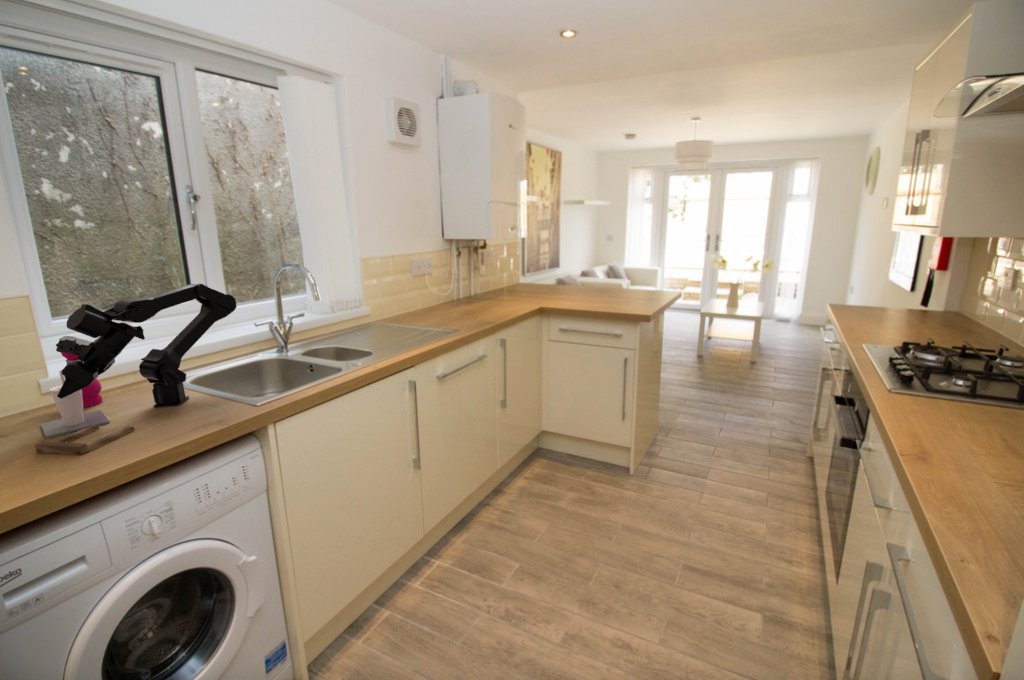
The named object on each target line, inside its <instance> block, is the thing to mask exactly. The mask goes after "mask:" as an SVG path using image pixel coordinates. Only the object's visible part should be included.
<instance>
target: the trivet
mask: <svg viewBox="0 0 1024 680" xmlns="http://www.w3.org/2000/svg"><path fill="white" fill-rule="evenodd" d="M107 424H110V419H108V418H107V415H105V414H104V413H103V411H102V410H101V409H98V410H95V411H90V412H84V422H82V423H80V424H77V425H71V426H66V425H65V423H64V421H63V419H62V418H59V419H55V420H51V421H47V422H42V423H40V427H41V429H42V431H43V434H44V437H45V438H46V440H48V439H52V438H56V437H59V435H60V436H63V434H64V435H68V434H72V433H74V432H75V431H76V432H77V431H79V430H82V429H84V428H86V427H89V426H91V425H99V427H101V426H105V425H107ZM71 432H72V433H71ZM67 433H68V434H67ZM55 436H56V437H55ZM47 438H48V439H47Z"/></svg>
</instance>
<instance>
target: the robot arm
mask: <svg viewBox="0 0 1024 680" xmlns="http://www.w3.org/2000/svg"><path fill="white" fill-rule="evenodd" d="M192 300H196V301H197V302H198V303H199V304H201V305H200V310H199V313H198V314H197V315H196V316H195V317H194V318H192V320H191V321H190V322H189V323H188V324H187V325H186V326H185V327H184V328H183V329H182V330H181V331H180V332H179V333H178V334H177V335H176V336H175V337H174V339H172V340H171V341H170V342H169V344H167V346H166V347H164V348H162V349H157V348H152V349H151V350H150V351H149V352H148V353H147V355H145V356H144V357H142V358H141V359H140V360H141V362H140V364H139V366H138V368H139V370H138V371H139V373H140V375H141V376H142V377H143V378H145V379H146V380H147V381H148V383H149V384H152V389H151V391H152V396H153V401H154V403H155V404H153V405H152V406H153V408H160V407H161V408H164V407H165V408H166V407H178V406H180V405H181V404H183V403H184V402H186V401H187V400H188V399H190V396H189V395H188V396H186V391H185V386H184V382H186V381H187V373H185V372H184V371H182V370H180V369H179V368H180V366H181V361H182V358H183V357H184V356H185V354H187V353H188V351H189V350H190V349H191V348H193V346H194V345H195V344H196V343H197V342H198V341H199V340H200V339H201V338H202V337H203V336H204V335H205V334H206V332H207V331H208V330H210V328H211V327H213V325H214V324H215V323H216V322H218V321H220V320H222V319H224V318H226V317H228V316H229V315H230V314H233V312H235V310H236V309H237V301H236V298H235V297H234V296H233V295H231V294H228V293H227V294H226V293H224V292H221V291H218V290H217V289H213V288H212V287H208V286H207V285H205V284H203V283H193V282H191V283H189V284H187V285H185V286H181V287H178V288H175V289H171V290H168V291H166V292H162V293H159V294H155V295H152V296H147V297H138V298H137V297H136V298H135V297H134V298H129V299H120V300H119V301H116V302H115V303H114V306H113V307H111V308H108V309H105V310H104V311H102V310H101V309H98V308H96V307H94V306H93V305H90V304H86V303H83V304H81V306H80V307H79V308H78V309H76V310H75V311H73V313H72V314H70V315H69V316H68V318H67V320H66V328H67V329H69V330H70V331H74V332H77V333H80V334H82V335H85V336H87V337H89V338H93V339H95V340H94V341H90V340H87V339H82V338H78V337H76V336H75V337H76V338H75V337H71V336H72V335H64V336H61V337H60V338H59V340H58V342H57V343H56V344H55V346H56V350H55V351H56V352H57V353H60V354H61V353H62V352H65V353H69V354H74V355H79V356H78V357H77V358H78V359H79V360H81V362H80V361H74V362H71V363H69V364H68V365H66V364H65V366H64V367H63V369H61V370H60V371H61V372H62V374H63V376H64V380H65V381H64V384H63V386H62V387H61V389H60V391H59V393H58V395H57V397H59V398H61V399H62V398H64V397H66V396H68V395H70V394H72V393H74V392H76V391H78V390H80V389H83V388H85V387H87V386H89V385H90V384H91V383H92V382H93V381H94V380H95V379H97V378H99V376H100V375H102V374H104V373H105V372H106V371H107V370H109V369H110V368H111V367H112V366H113V365H114V364H115V363H116V358H117V357H118V356H119V355H120V354H121V353H122V352H123V351H124V349H125V348H126V347H127V346H128V345H129V343H131V341H133V339H134V338H137V339H141V340H145V339H146V337H145V334H144V329H143V327H142V325H138V326H137V325H136V326H133V325H131V324H128V323H134V324H135V323H136V324H137V323H138V324H140V323H144V322H145V321H147V320H149V319H151V318H153V317H155V316H156V315H157V314H158V313H159V312H161V311H163V310H166V309H169V308H172V307H175V306H178V305H180V304H183V303H187V302H191V301H192ZM115 321H119V322H115Z"/></svg>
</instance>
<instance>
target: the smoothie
mask: <svg viewBox="0 0 1024 680" xmlns="http://www.w3.org/2000/svg"><path fill="white" fill-rule="evenodd" d="M61 371H62V370H59V371H58V372H59V376H60V380H61V384H60V385H57V386H54V387H51V388H49V389H48V392H49V395H51V396H52V398H53V401H54V403H55V405H56V407H57V410H58V412H59V414H60V416H61V419H63V421H64V423H65V425H66V426H71V425H77V424H80V423H82V422H84V414H85V412H84V408H83V397H82V389H80V390H78V391H76V392H74V393H72V394H70V395H68V396H66V397H64V398H62V399H61V398H59V397H57V395H58V393H59V391H60V389H61V387H62V386H63V384H64V381H65V377H64V375H63V374H62V372H61Z"/></svg>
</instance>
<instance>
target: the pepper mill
mask: <svg viewBox="0 0 1024 680" xmlns="http://www.w3.org/2000/svg"><path fill="white" fill-rule="evenodd" d="M70 336H71V337H75V338H77V337H76V336H75V335H70ZM60 354H61V356H62V357H63V358H64V359H66V360H65V362H66V363H65V366H66V365H68V364H69V363H71V362H74V361H80V362H81V360H79V359H78V358H77V357H78V356H79V355H74V354H69V353H65V352H62V353H61V352H60ZM101 391H102V385H101V382H100V381H99V380H98V379H97V378H96V379H95V380H94V381H93V382H92V383H91V384H90V385H89V386H87V387H85V388H83V389H82V397H83V409H84V408H89V407H94V406H97V405H100V404H101V403H103V398H102V397H103V396H102V395H101V394H100V392H101Z"/></svg>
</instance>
